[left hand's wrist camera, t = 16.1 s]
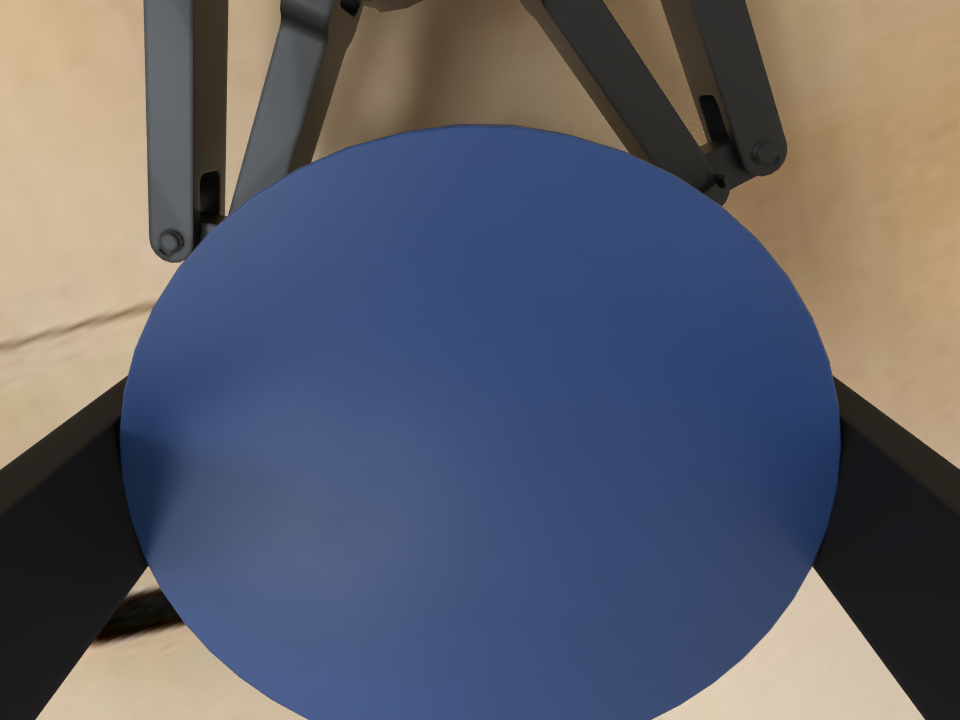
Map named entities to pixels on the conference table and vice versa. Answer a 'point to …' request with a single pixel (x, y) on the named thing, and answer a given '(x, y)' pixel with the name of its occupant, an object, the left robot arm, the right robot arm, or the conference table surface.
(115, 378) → the conference table surface
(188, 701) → the conference table surface
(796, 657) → the conference table surface
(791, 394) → the lid
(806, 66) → the conference table surface
